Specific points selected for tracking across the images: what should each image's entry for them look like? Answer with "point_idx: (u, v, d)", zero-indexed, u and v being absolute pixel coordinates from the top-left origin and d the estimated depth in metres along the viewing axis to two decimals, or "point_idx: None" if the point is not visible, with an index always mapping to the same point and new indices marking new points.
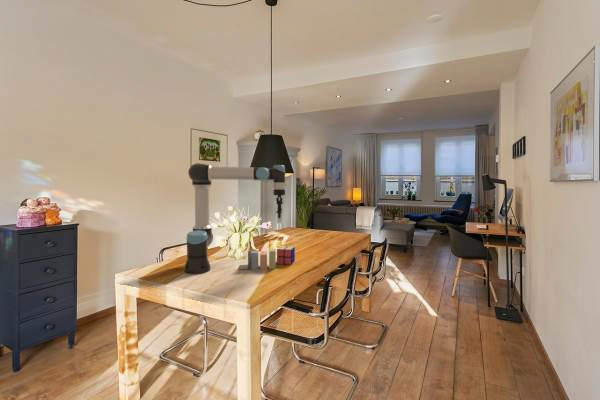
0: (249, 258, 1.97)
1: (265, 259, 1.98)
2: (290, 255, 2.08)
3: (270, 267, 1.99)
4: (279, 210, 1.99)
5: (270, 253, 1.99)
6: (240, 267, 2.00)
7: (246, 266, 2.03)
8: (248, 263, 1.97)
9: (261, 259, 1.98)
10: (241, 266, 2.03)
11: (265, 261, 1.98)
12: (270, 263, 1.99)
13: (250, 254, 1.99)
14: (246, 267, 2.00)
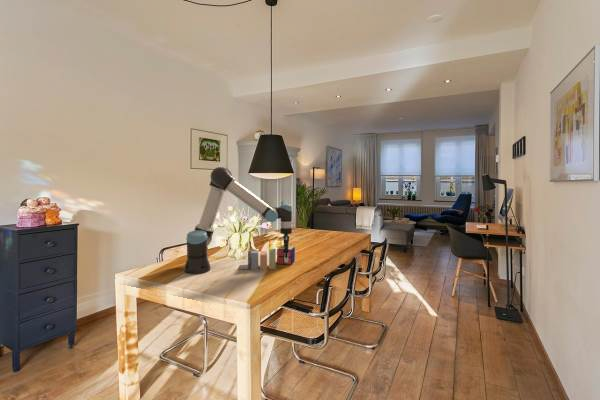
0: (249, 258, 1.97)
1: (265, 259, 1.98)
2: (290, 255, 2.08)
3: (270, 267, 1.99)
4: (286, 250, 2.05)
5: (270, 253, 1.99)
6: (240, 267, 2.00)
7: (246, 266, 2.03)
8: (248, 263, 1.97)
9: (261, 259, 1.98)
10: (241, 266, 2.03)
11: (265, 261, 1.98)
12: (270, 263, 1.99)
13: (250, 254, 1.99)
14: (246, 267, 2.00)
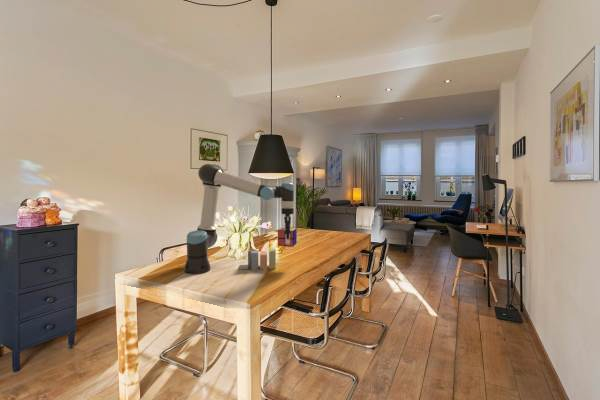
0: (249, 258, 1.97)
1: (265, 259, 1.98)
2: (292, 236, 1.96)
3: (270, 267, 1.99)
4: (288, 231, 1.93)
5: (270, 253, 1.99)
6: (240, 267, 2.00)
7: (246, 266, 2.03)
8: (248, 263, 1.97)
9: (261, 259, 1.98)
10: (241, 266, 2.03)
11: (265, 261, 1.98)
12: (270, 263, 1.99)
13: (250, 254, 1.99)
14: (246, 267, 2.00)
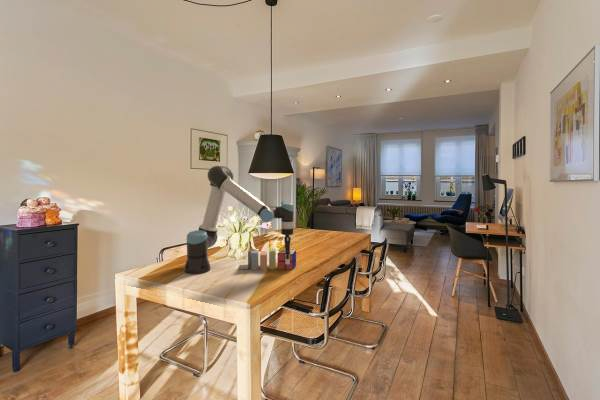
0: (249, 258, 1.97)
1: (265, 259, 1.98)
2: (292, 259, 1.98)
3: (270, 267, 1.99)
4: (287, 251, 1.93)
5: (270, 253, 1.99)
6: (240, 267, 2.00)
7: (246, 266, 2.03)
8: (248, 263, 1.97)
9: (261, 259, 1.98)
10: (241, 266, 2.03)
11: (265, 261, 1.98)
12: (270, 263, 1.99)
13: (250, 254, 1.99)
14: (246, 267, 2.00)
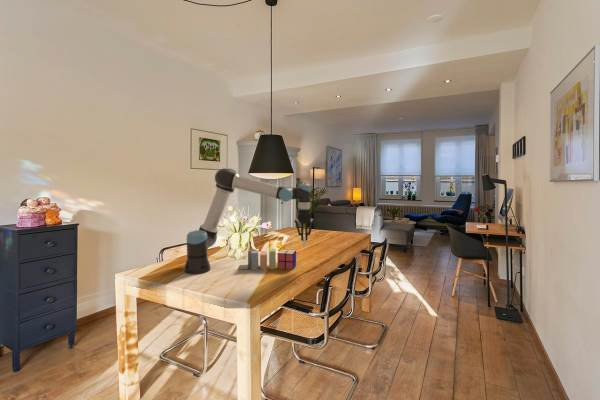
0: (249, 258, 1.97)
1: (265, 259, 1.98)
2: (292, 259, 1.98)
3: (270, 267, 1.99)
4: (298, 233, 2.02)
5: (270, 253, 1.99)
6: (240, 267, 2.00)
7: (246, 266, 2.03)
8: (248, 263, 1.97)
9: (261, 259, 1.98)
10: (241, 266, 2.03)
11: (265, 261, 1.98)
12: (270, 263, 1.99)
13: (250, 254, 1.99)
14: (246, 267, 2.00)
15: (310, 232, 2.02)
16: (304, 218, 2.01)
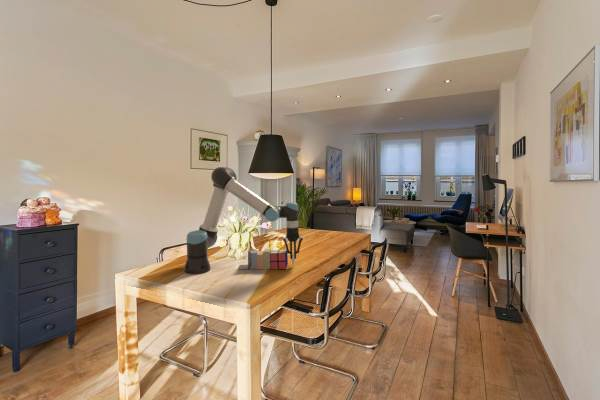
0: (249, 258, 1.97)
1: (262, 259, 1.98)
2: (284, 259, 1.97)
3: (265, 267, 1.99)
4: (287, 251, 2.03)
5: (264, 253, 1.98)
6: (240, 267, 2.00)
7: (246, 266, 2.03)
8: (248, 263, 1.97)
9: (258, 259, 1.98)
10: (241, 266, 2.03)
11: (262, 261, 1.98)
12: (265, 263, 1.99)
13: None
14: (246, 267, 2.00)
15: None
16: (292, 236, 2.01)
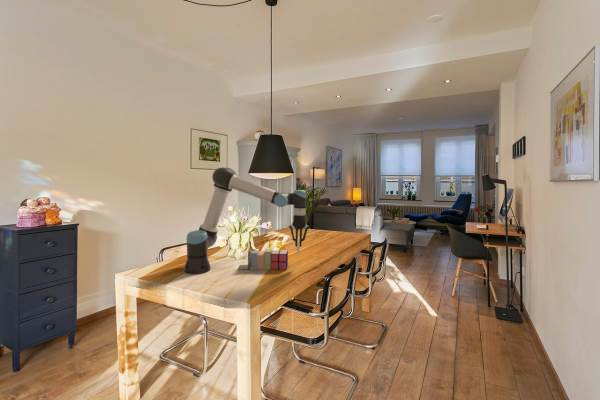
0: (249, 258, 1.97)
1: (262, 259, 1.97)
2: (285, 259, 1.97)
3: (265, 267, 1.98)
4: None
5: (265, 253, 1.98)
6: (240, 267, 2.00)
7: (246, 266, 2.03)
8: (248, 263, 1.97)
9: (258, 259, 1.98)
10: (241, 266, 2.03)
11: (262, 261, 1.98)
12: (265, 263, 1.98)
13: (250, 254, 1.99)
14: (246, 267, 2.00)
15: (304, 238, 2.02)
16: (299, 224, 2.01)
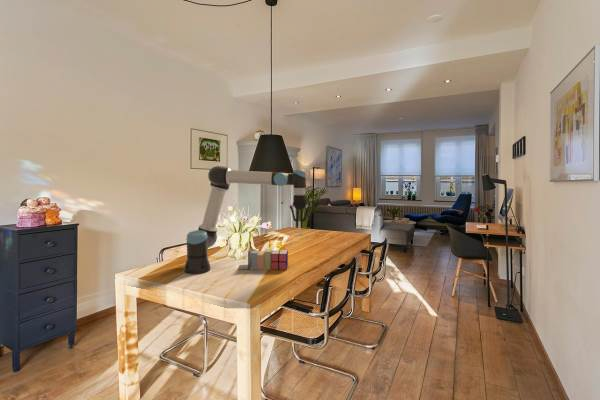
0: (249, 258, 1.97)
1: (262, 259, 1.97)
2: (285, 259, 1.97)
3: (265, 267, 1.98)
4: (293, 219, 2.02)
5: (265, 253, 1.98)
6: (240, 267, 2.00)
7: (246, 266, 2.03)
8: (248, 263, 1.97)
9: (258, 259, 1.98)
10: (241, 266, 2.03)
11: (262, 261, 1.98)
12: (265, 263, 1.98)
13: (250, 254, 1.99)
14: (246, 267, 2.00)
15: (305, 218, 2.01)
16: (299, 204, 2.00)
